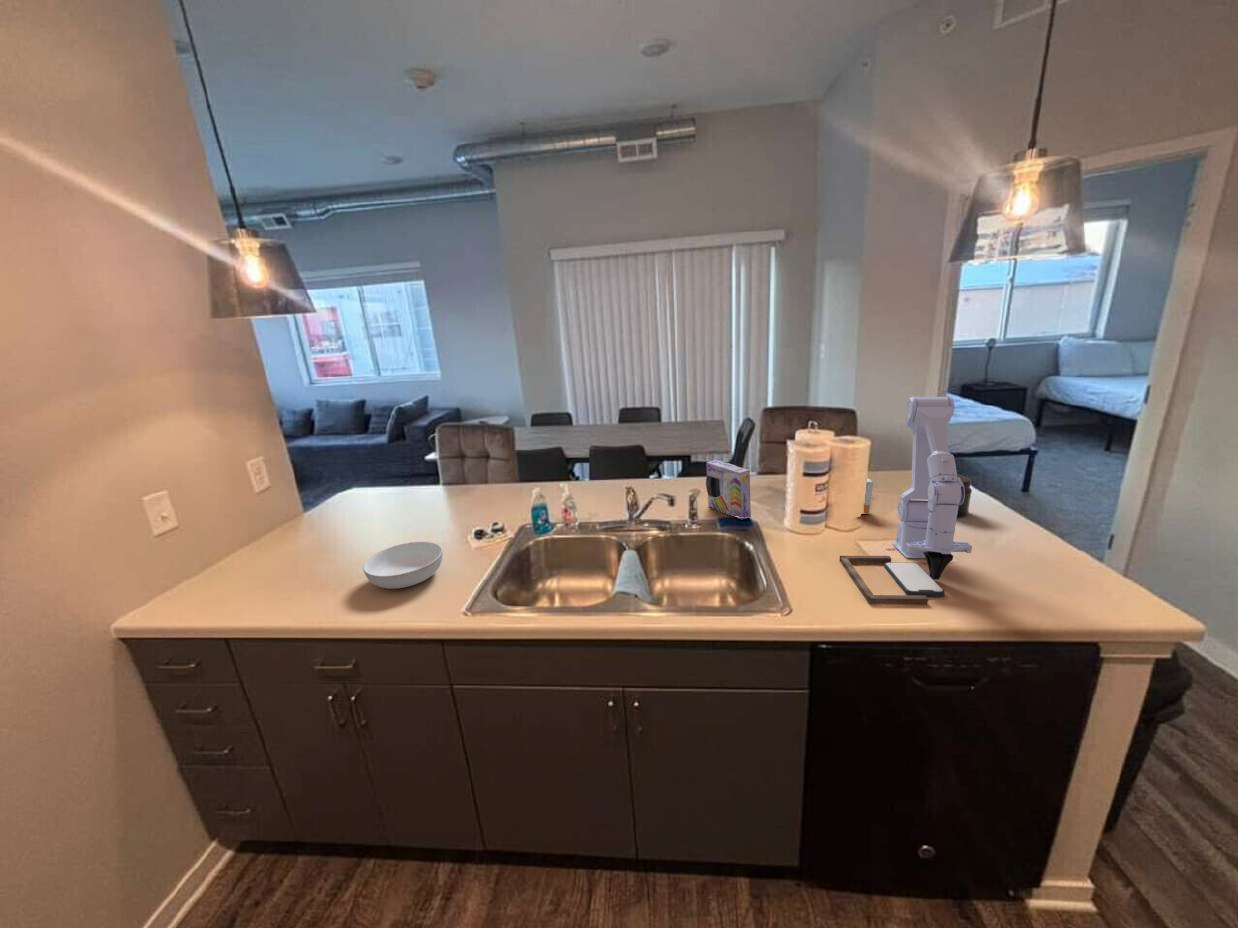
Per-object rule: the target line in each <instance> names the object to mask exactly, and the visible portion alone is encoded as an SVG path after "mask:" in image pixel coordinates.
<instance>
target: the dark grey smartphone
mask: <svg viewBox="0 0 1238 928" xmlns="http://www.w3.org/2000/svg"><path fill="white" fill-rule="evenodd" d="M883 565H884V566H883V567H884V569H885V570H886V572H887V573H889V575H890V577H891V578H892V579H893V580H894V582H895V583H897V585H898V586H899V588H900V589H901V590H902V591H903V593H905V595H925V596H926V597H927V598H929V597H930V598H942V597H945V590H944V589H943V588H942V587H941V585H939V584H938V582H937V581H936V580H934V579H932V578H931V577H930V574H929V573H928V572H927V571H925V569H924V568H923V567H922V566H921V565H920V564H919V563H915V562H902V561H901V562H896V561H894V562H893V561H891V562H887V563H883Z"/></svg>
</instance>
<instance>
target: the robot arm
mask: <svg viewBox="0 0 1238 928" xmlns="http://www.w3.org/2000/svg"><path fill="white" fill-rule="evenodd" d="M954 412H955V402H954V399H953V397H952V396H950V395H949V396H948V395H947V396H910V398H909V399H907V402H906V406H905V423H906V424H905V427H906V428H909V429H911V432H912V454H911V455H912V457H911V458H912V459H911V487H910V488H908V489H907V490H905V491H904V492H902V493H901V494H900V495H899V502H898V503H897V504H898V506H897V516H898V519H899V521H898V523H897V531H896V537H895V538H896V539H895V541H893V542H892V546H894V547H895V548H896V549H897V550H898V552H900V554H901V555H902V556H904V557H905V558H906V559H925V560H926V563H927V567H928V570H929V572H928V574H929V576H930V577H931V578H932V579H933V580H934V581H936V580H937V581H938V580H940V577H941V576H942V573H943V572H944V570H945V569H946V567H948V565H950V563H951V562H952V561H953V560H954V555H953V554H951V553H966V554H972V549H973V545H971V544H970V543H968V542H960V541H954V538H955V532H956V524H957V518H958V517H957V512H958V506H957V505H962V504H963V502H964V498H965V489H964V485H963V483H962V482H961V479H960V477H957V475H958V473H957V466H956V460H955V456H954V455H953V454H952V453H951V452H949V447H948V446H949V444H948V425H949V423H950V421H951V420H952V417H953V415H954Z"/></svg>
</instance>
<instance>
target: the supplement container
mask: <svg viewBox="0 0 1238 928" xmlns="http://www.w3.org/2000/svg"><path fill="white" fill-rule="evenodd" d="M957 477H960V479H961V482H962V483H963V485H964V489H965V498H964V502H963V504H962V505H957V506H958V512H957V518H962V517H964V516H967V514H969V511H970V510H969V509H970V503H971V495H972V491H973V490H972V487H971V486H972V479H971V478H970V477H968V476H964V475H960V474H957Z"/></svg>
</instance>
